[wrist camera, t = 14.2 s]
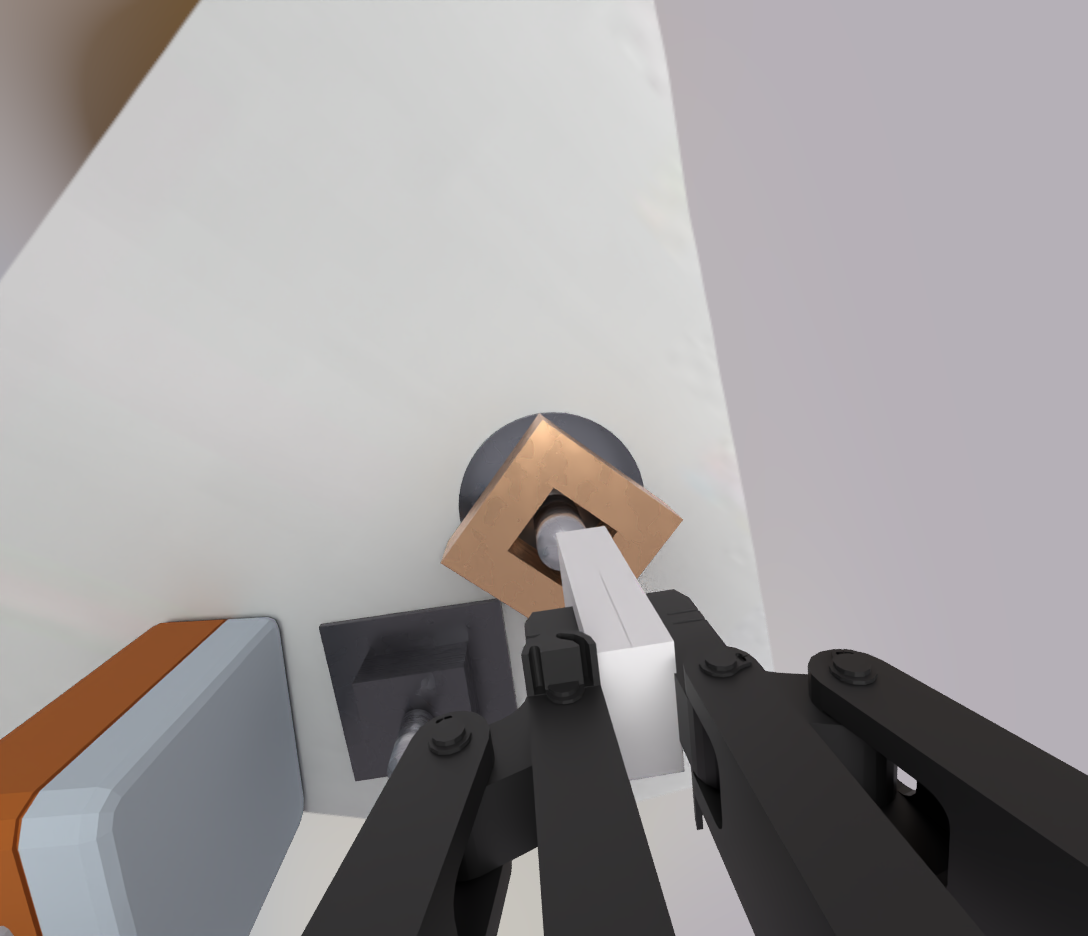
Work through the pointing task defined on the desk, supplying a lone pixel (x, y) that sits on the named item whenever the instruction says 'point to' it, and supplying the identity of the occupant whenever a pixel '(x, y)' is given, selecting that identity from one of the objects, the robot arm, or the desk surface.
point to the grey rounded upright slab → (154, 790)
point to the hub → (557, 507)
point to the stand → (415, 676)
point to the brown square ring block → (516, 494)
